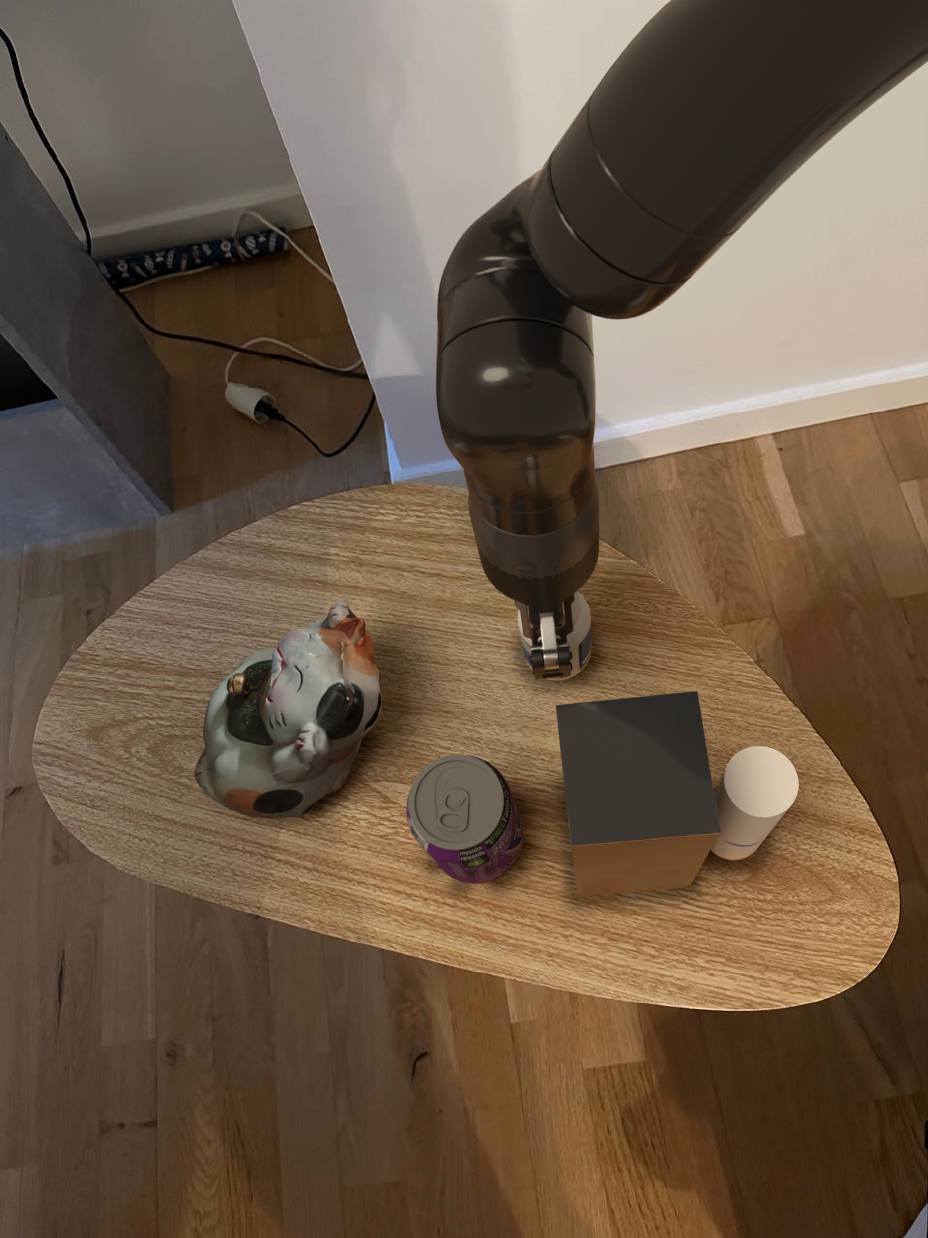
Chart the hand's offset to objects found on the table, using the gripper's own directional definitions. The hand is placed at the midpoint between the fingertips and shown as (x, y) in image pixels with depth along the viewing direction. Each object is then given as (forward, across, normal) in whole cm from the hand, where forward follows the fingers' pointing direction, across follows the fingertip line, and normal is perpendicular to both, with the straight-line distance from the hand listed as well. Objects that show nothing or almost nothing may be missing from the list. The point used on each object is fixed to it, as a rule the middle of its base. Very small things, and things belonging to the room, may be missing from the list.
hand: (548, 624), depth 77 cm
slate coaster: (-15, -15, -4) cm, 21 cm away
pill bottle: (+6, 0, 0) cm, 6 cm away
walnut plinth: (+5, -15, -4) cm, 16 cm away
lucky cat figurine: (+6, -4, +20) cm, 21 cm away
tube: (+6, -15, -12) cm, 20 cm away
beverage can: (+6, -14, +7) cm, 17 cm away
